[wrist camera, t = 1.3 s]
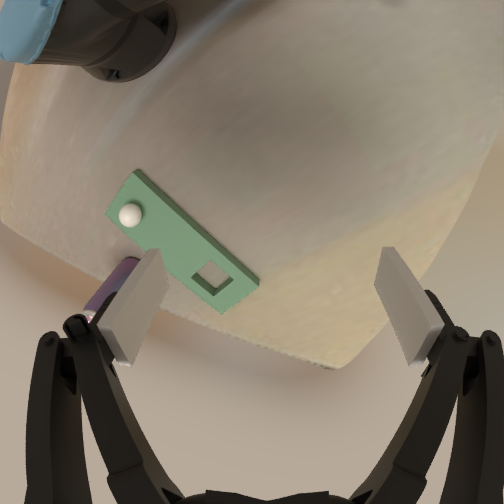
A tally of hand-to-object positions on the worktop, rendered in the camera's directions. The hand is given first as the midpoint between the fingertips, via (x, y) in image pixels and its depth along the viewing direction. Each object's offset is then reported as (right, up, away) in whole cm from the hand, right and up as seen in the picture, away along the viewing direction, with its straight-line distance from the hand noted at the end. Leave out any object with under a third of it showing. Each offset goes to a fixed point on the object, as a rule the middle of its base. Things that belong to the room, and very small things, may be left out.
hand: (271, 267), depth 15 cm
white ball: (-19, +6, +21) cm, 29 cm away
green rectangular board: (-12, +2, +27) cm, 29 cm away
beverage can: (-22, -2, +30) cm, 38 cm away
